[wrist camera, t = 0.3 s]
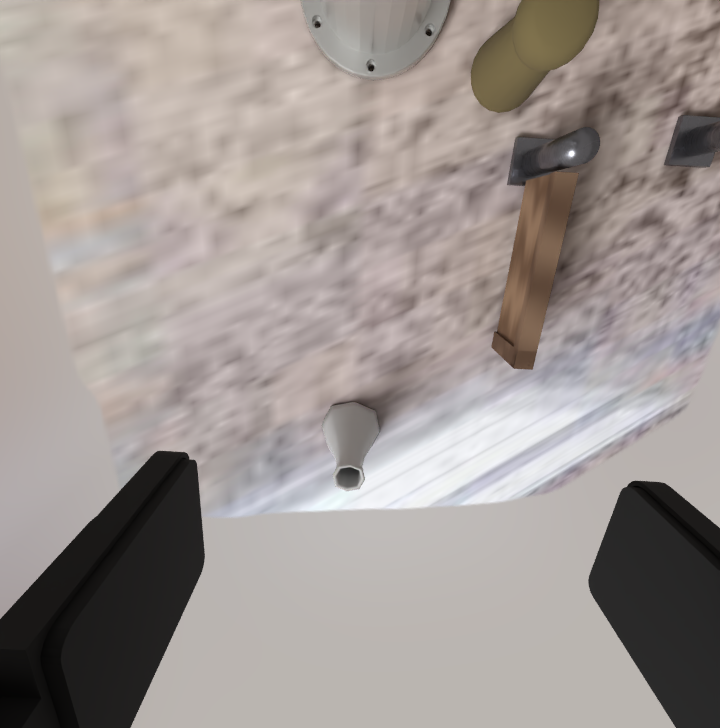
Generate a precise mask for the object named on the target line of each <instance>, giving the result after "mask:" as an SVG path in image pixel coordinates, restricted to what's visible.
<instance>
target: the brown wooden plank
mask: <svg viewBox="0 0 720 728" xmlns="http://www.w3.org/2000/svg"><path fill="white" fill-rule="evenodd" d="M578 174H579V173H570V172H553V173H550V175H546V176H542V177H538V178H534V179H530V180H526V185H525V190H524V195H523V200H522V205H521V211H520V216H519V221H518V226H517V231H516V237H515V242H514V247H513V252H512V257H511V262H510V268H509V273H508V278H507V283H506V288H505V294H504V299H503V304H502V309H501V314H500V320H499V325H498V330H497V332H494V337H493V342H492V348H493V349H494V350H495V351H496V352H497V353H498V354H499V355H500V356H501V357H502V358H503V359H504V360H505V361H506V362H508V363H509V364H510V365H511V366H512V367H513V368H514V369H533V366H534V361H535V357H536V353H537V349H538V344H539V340H540V336H541V332H542V327H543V323H544V319H545V315H546V310H547V306H548V302H549V298H550V293H551V289H552V285H553V281H554V276H555V272H556V268H557V264H558V259H559V255H560V251H561V247H562V242H563V238H564V234H565V230H566V225H567V221H568V217H569V213H570V208H571V204H572V200H573V196H574V191H575V187H576V183H577V179H578Z"/></svg>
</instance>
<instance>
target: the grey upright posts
mask: <svg viewBox="0 0 720 728" xmlns="http://www.w3.org/2000/svg"><path fill="white" fill-rule="evenodd" d="M599 146H600V137H599V135H598V133H597V132H596V130H594V129H593V128H590V127H584V128H581V129H578V130H576V131H574V132H571V133H569V134H566V135H564V136H562V137H559V138H557V139H555V140H554V139H539V138H524V137H517V138H515V143H514V149H513V155H512V160H511V166H510V172H509V177H508V183H507V185H515V186H525V185H526V180H530V179H534V178H538V177H542V176H546V175H550V173H553V172H554V171H557V170H561V169H565V168H569V167H573V166H576V165H580V164H584V163H587V162H589V161H590V160H592V159H593V158H594V157H595V155H596V154H597V152H598V150H599ZM718 151H720V118H717V117H703V116H688V115H683V116H680V117H678V121H677V124H676V127H675V130H674V134H673V137H672V140H671V144H670V147H669V150H668V153H667V157H666V160H665V163H664V165H670V166H685V167H700V168H706V167H710V165H711V162H712V159H713V156H714V153H715V152H718Z"/></svg>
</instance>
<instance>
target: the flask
mask: <svg viewBox="0 0 720 728" xmlns="http://www.w3.org/2000/svg"><path fill="white" fill-rule="evenodd" d="M322 428H323V432H324V436H325V439H326V443H327V446H328V448H329V449H330V451H331V453H332V454H333V456H334V458H335V460H336V463H337V467H336V470H335V472H334V473H333V479H334V483H335V486H336V487H338V488H340V489H343V490H345V491H351V490H357V489H360V487H361V485H362V484H363V482H364V480H365V477H364V473H363V468H362V465H363V461H364V458H365V456H366V454H367V453H368V451H369V450H370V448H371V446H372V444H373V443H374V441H375V439H376V437H377V436H378V434H379V432H380V429H379V424H378V419H377V414H376V411H375V410H372V409H370V408H368V407H365V406H363V405H361V404H358V403H356V402H350V403H345V404H339V405H334V406H331V407H330V409H329V411H328V413H327V415H326V417H325V419H324V421H323V423H322Z"/></svg>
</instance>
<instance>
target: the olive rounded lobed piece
mask: <svg viewBox="0 0 720 728" xmlns="http://www.w3.org/2000/svg"><path fill="white" fill-rule="evenodd" d="M598 11H599V0H522V1H521V3H520V5H519V7H518V9H517V13H516V16H515V17H514V18H513V19H512V20H511V21H509V22H508V23H507V24H506V25H505V26H503V27H502V28H501V29H500V30H499V31H498V32H496V33H495V34H494V35H493V36H492V37H491V38H489V39H488V40H487V41H486V42H485V43H484V45H483V46H482V47H481V48H480V49H479V51H478V53H477V55H476V57H475V59H474V62H473V66H472V70H471V85H472V88H473V92H474V95H475V97H476V98H477V100H478V101H479V103H480V104H481V105H482V106H484V107H485V108H487V109H488V110H490V111H494V112H498V113H500V112H507V111H511V110H513V109H515V108H517V107H519V106H520V105H521V104H522V103H523V102H524V101H525V100H526V99H527V98H528V97H529V96H530V95H531V93H532V92H533V91H534V90H535V88H536V87H537V86H538V85H539V83H540V82H541V81H542V80H543V79H544V77H545V76H546V75H547V74H548V72H549V71H550V70H554V69H557V68H559V67H561V66H563V65H565V64H567V63H568V62H569V61H571V60H572V59H573V58H574V57H575V56H576V55H577V54H578V53H579V52H580V51H582V49H583V48H584V46H585V44H586V43H587V41H588V40H589V38H590V37H591V35H592V33H593V31H594V28H595V25H596V22H597V19H598Z"/></svg>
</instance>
